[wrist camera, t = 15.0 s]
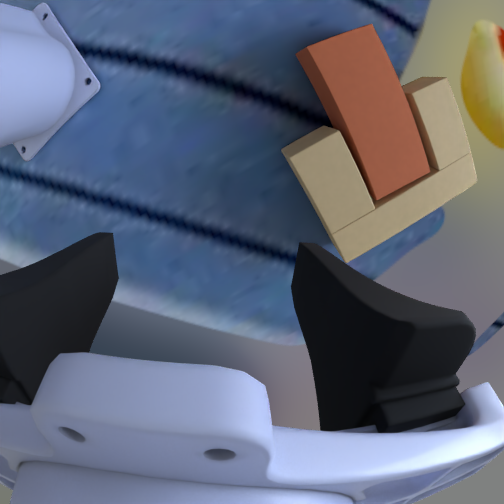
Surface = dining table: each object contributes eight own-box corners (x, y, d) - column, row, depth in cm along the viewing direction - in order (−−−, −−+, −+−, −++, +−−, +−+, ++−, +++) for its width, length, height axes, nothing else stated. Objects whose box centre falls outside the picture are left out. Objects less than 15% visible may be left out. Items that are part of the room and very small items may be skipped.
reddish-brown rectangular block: (408, 161, 20) (430, 172, 17) (359, 186, 20) (377, 200, 18) (352, 31, 15) (372, 23, 13) (294, 54, 16) (306, 46, 13)
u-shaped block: (280, 149, 19) (288, 158, 16) (422, 76, 17) (447, 76, 14) (332, 243, 22) (345, 264, 20) (454, 170, 20) (478, 182, 17)
